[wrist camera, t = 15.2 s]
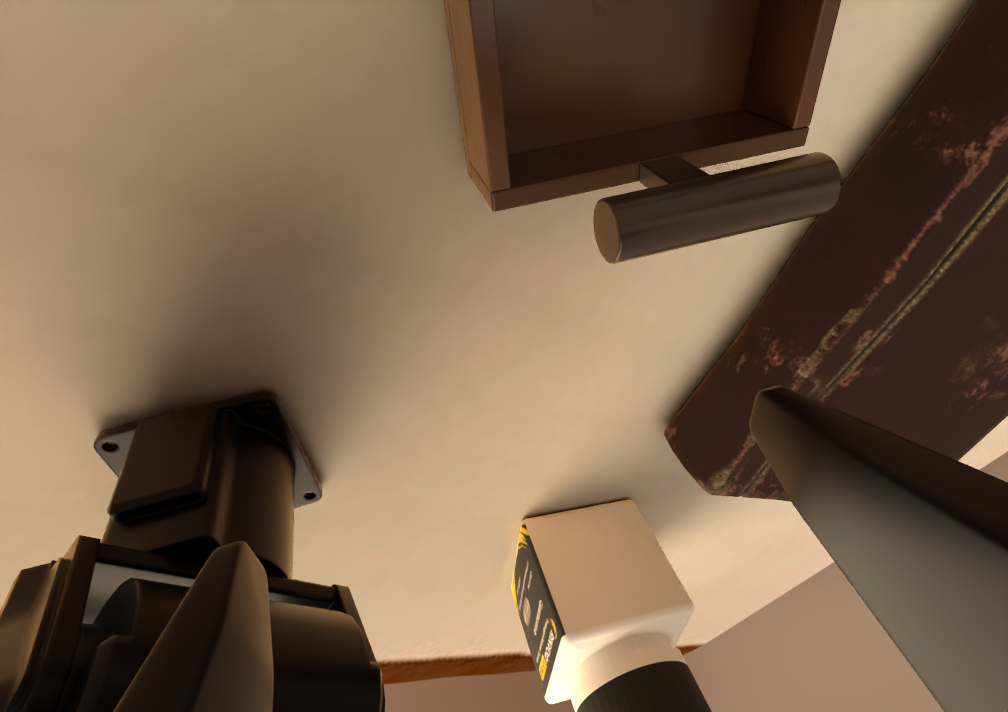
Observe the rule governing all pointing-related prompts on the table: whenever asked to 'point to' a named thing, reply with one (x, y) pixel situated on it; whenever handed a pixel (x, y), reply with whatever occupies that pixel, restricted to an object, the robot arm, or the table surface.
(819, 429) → the robot arm
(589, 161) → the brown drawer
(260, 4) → the table surface
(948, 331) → the diary
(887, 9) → the table surface
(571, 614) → the medicine bottle
